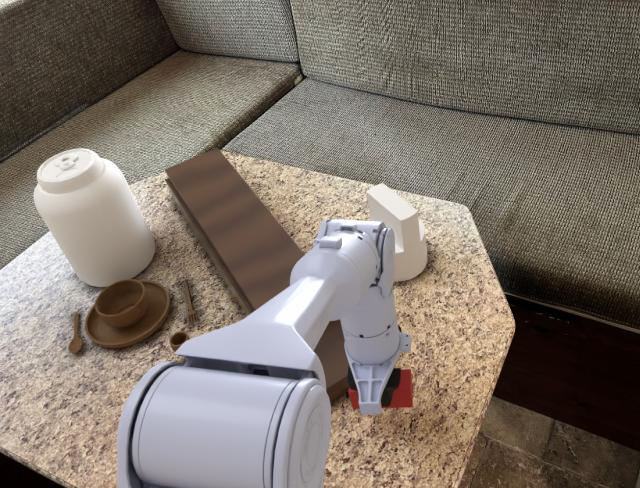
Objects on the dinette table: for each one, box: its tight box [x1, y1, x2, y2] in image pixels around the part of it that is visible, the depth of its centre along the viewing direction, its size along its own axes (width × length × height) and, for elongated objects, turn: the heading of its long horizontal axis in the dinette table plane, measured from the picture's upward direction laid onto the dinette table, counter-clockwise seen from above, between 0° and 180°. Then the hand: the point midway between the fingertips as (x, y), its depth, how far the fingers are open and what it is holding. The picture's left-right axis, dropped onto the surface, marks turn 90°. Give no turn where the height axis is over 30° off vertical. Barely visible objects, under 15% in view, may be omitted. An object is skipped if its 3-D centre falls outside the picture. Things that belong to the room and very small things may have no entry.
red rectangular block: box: [348, 368, 414, 410], centre depth 70 cm, size 7×3×4 cm, turn 89°
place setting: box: [67, 278, 198, 365], centre depth 85 cm, size 18×20×6 cm
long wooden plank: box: [164, 147, 350, 403], centre depth 93 cm, size 54×11×6 cm, turn 34°
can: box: [32, 147, 156, 288], centre depth 93 cm, size 12×12×20 cm
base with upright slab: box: [366, 182, 428, 283], centre depth 90 cm, size 9×9×12 cm
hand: (381, 391), depth 70 cm, fingers closed on red rectangular block, 3 cm apart
